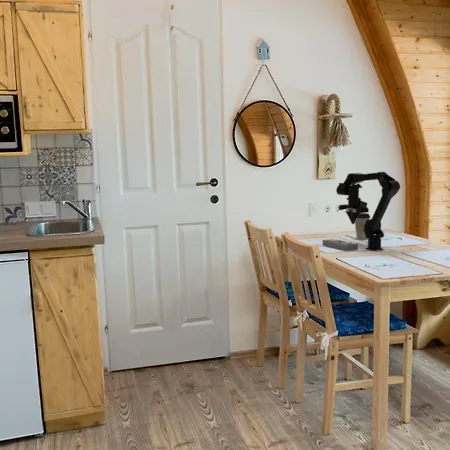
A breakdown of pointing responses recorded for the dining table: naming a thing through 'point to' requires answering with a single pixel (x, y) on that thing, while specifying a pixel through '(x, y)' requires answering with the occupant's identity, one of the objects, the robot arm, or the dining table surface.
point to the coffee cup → (361, 225)
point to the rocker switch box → (340, 245)
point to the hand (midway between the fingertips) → (353, 224)
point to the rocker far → (334, 240)
